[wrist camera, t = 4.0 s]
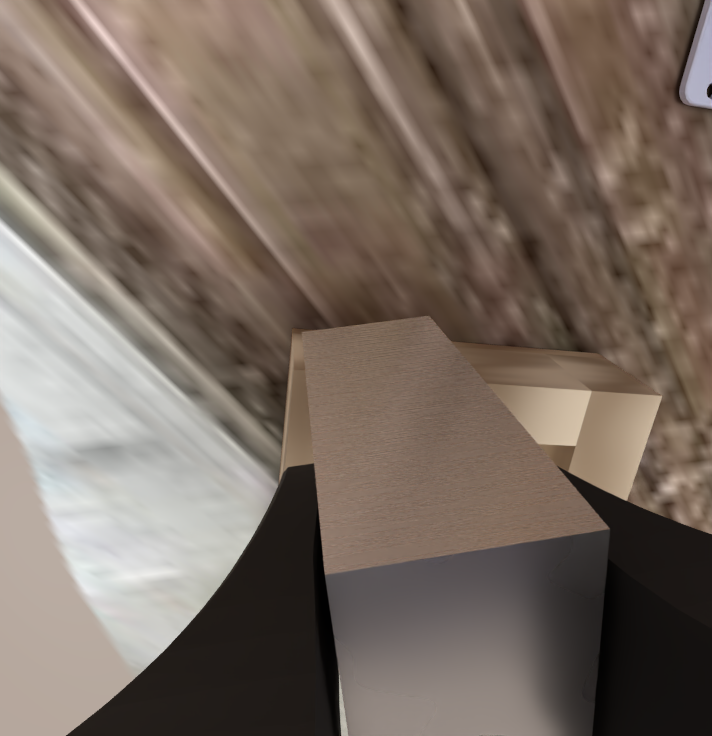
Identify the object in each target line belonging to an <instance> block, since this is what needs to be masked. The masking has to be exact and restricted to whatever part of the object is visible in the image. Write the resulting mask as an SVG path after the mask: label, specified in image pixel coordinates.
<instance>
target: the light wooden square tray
mask: <svg viewBox="0 0 712 736" xmlns="http://www.w3.org/2000/svg"><path fill="white" fill-rule="evenodd" d="M306 331H314V330H308V329H296V328H292V336H291V348H290V359H289V371H288V382H287V394H286V405H285V416H284V428H283V439H282V451H281V462H280V474H279V483H280V480H281V477H282V474H283V472H284V471H285V470H286V469H287V468H288V467H292V466H299V465H305V464H312V463H314V456H313V446H312V435H311V425H310V414H309V404H308V393H307V383H306V372H305V362H304V351H303V341H302V332H306ZM451 342H452V343H453V344H454V346H455V347H456V348H457V349H458V350H459V351H460V353H461V354H462V355H463V356H464V357H465V359H466V360H467V361H468V362H469V363H470V364H471V366H472V367H473V368H474V369H475V370H476V371H477V373H478V374H479V375H480V376H481V377H482V379H483V380H484V381H485V382H486V383H487V384H488V386H489V387H490V388H491V389H492V390H493V392H494V393H495V394H496V395H497V396H498V397H499V399H500V400H501V401H502V402H503V403H504V404H505V406H506V407H507V408H508V409H509V410H510V412H511V413H512V414H513V415H514V416H515V417H516V419H517V420H518V421H519V422H520V423H521V425H522V426H523V427H524V428H525V429H526V430H527V432H528V433H529V434H530V435H531V436H532V437H533V439H534V440H535V441H536V442H537V443H538V445H539V446H540V447H541V448H542V449H543V450H544V452H545V453H546V454H547V455H548V456H549V458H550V459H551V460H552V461H553V462H554V463H555V465H557V466H558V467H560V468H562V469H564V470H566V471H568V472H569V473H571V474H573V475H575V476H577V477H579V478H581V479H583V480H584V481H586V482H588V483H590V484H592V485H594V486H596V487H598V488H600V489H602V490H604V491H606V492H608V493H611V494H613V495H615V496H617V497H619V498H621V499H623V500H625V501H627V499H628V496H629V493H630V490H631V487H632V484H633V481H634V478H635V475H636V472H637V469H638V466H639V463H640V460H641V457H642V454H643V452H644V449H645V446H646V443H647V440H648V437H649V434H650V431H651V428H652V425H653V422H654V419H655V416H656V413H657V410H658V407H659V405H660V402H661V399H662V396H661V395H660V394H658V393H657V392H655V391H654V390H652V389H651V388H649V387H648V386H646V385H645V384H643V383H642V382H640V381H639V380H637V379H636V378H634V377H633V376H631V375H630V374H628V373H627V372H625V371H624V370H622V369H621V368H619V367H618V366H616V365H615V364H613V363H612V362H610V361H609V360H607V359H606V358H604V357H603V356H601V355H600V354H598V353H586V352H574V351H562V350H550V349H538V348H526V347H514V346H501V345H489V344H477V343H465V342H453V341H451Z"/></svg>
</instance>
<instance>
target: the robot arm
mask: <svg viewBox="0 0 712 736" xmlns="http://www.w3.org/2000/svg"><path fill="white" fill-rule="evenodd" d="M709 84H712V0H705V2H704V6H703V9H702V13H701V16H700V20H699V23H698V26H697V30H696V33H695V37H694V40H693V44H692V47H691V50H690V54H689V57H688V61H687V64H686V68H685V71H684V74H683V78H682V81H681V85H680V90H679V95H680V99H681V100H682V102H683V103H684V104H686V105H689V106H695V107H702V108H708V109H712V95H711V97H710V98H708V96H707V94H706V93H707V88H708V86H709ZM556 466H557V465H556ZM557 467H558V466H557ZM558 468H559V469H560V470H561V472H562V473H563V474H564V475H565V476H566V478H567V479H568V480H569V481H570V482H571V483H572V485H573V486H574V487H575V488H576V489H577V491H578V492H579V493H580V494H581V495H582V496H583V498H584V499H585V500H586V501H587V502H588V503H589V505H590V506H591V507H592V508H593V509H594V511H595V512H596V513H597V514H598V515H599V516H600V518H601V519H602V520H603V521H604V522H605V523H606V525H607V526H608V527H609V528H610V537H609V548H608V560H607V571H606V583H605V594H604V606H603V617H602V629H601V640H600V652H599V663H598V674H597V686H596V697H595V709H594V720H593V732H592V736H712V534H709V533H706V532H703V531H700V530H697V529H694V528H691V527H689V526H686V525H684V524H681V523H678V522H676V521H673V520H671V519H668V518H666V517H663V516H660V515H658V514H655V513H653V512H650V511H648V510H646V509H643V508H641V507H639V506H636V505H634V504H632V503H630V502H628V501H625V500H623V499H621V498H619V497H617V496H615V495H613V494H611V493H608V492H606V491H604V490H602V489H600V488H598V487H596V486H594V485H592V484H590V483H588V482H586V481H584V480H583V479H581V478H579V477H577V476H575V475H573V474H571V473H569V472H568V471H566V470H564V469H562V468H560V467H558ZM66 736H341V727H340V709H339V667H338V661H337V654H336V647H335V640H334V634H333V627H332V620H331V613H330V607H329V600H328V593H327V586H326V580H325V572H324V561H323V551H322V540H321V530H320V519H319V509H318V498H317V488H316V477H315V467H314V463H312V464H305V465H299V466H292V467H288V468H287V469H286V470H285V471H284V472H283V474H282V477H281V480H280V483H279V485H278V488H277V490H276V492H275V495H274V497H273V499H272V501H271V503H270V505H269V507H268V509H267V511H266V513H265V515H264V517H263V519H262V521H261V523H260V524H259V526H258V528H257V530H256V532H255V534H254V535H253V537H252V539H251V540H250V542H249V544H248V545H247V547H246V548H245V550H244V551H243V553H242V555H241V556H240V558H239V559H238V561H237V563H236V564H235V566H234V567H233V569H232V570H231V571H230V573H229V574H228V576H227V577H226V579H225V580H224V581H223V583H222V584H221V585H220V587H219V588H218V589H217V591H216V592H215V593H214V595H213V596H212V597H211V598H210V600H209V601H208V602H207V604H206V605H205V606H204V607H203V608H202V610H201V611H200V612H199V613H198V614H197V615H196V617H195V618H194V619H193V620H192V621H191V622H190V623H189V625H188V626H187V627H186V628H185V629H184V630H183V631H182V632H181V633H180V635H179V636H178V637H177V638H176V639H175V640H174V641H173V642H172V643H171V644H170V645H169V646H168V648H167V649H166V650H165V651H164V652H163V653H161V654H160V655H159V656H158V657H157V658H156V659H155V660H154V661H153V662H152V663H151V664H150V665H149V666H148V667H147V668H146V669H145V670H144V671H143V672H142V673H141V674H139V675H138V676H137V677H136V678H135V679H134V680H133V681H132V682H130V683H129V684H128V685H127V686H126V687H125V688H124V689H123V690H122V691H120V692H119V693H118V694H117V695H116V696H115V697H114V698H112V699H111V700H110V701H109V702H108V703H107V704H105V705H104V706H103V707H102V708H101V709H99V710H98V711H97V712H96V713H94V714H93V715H92V716H91V717H89V718H88V719H87V720H85V721H84V722H83V723H82V724H80V725H79V726H78V727H76V728H75V729H74V730H73V731H71V732H70V733H69V734H68V735H66Z"/></svg>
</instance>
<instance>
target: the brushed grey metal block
mask: <svg viewBox="0 0 712 736" xmlns="http://www.w3.org/2000/svg"><path fill="white" fill-rule="evenodd" d="M302 341H303V351H304V362H305V372H306V383H307V393H308V404H309V414H310V425H311V435H312V446H313V456H314V467H315V477H316V488H317V498H318V509H319V519H320V530H321V540H322V551H323V561H324V572H325V580H326V586H327V593H328V600H329V607H330V613H331V620H332V627H333V634H334V640H335V647H336V654H337V661H338V667H339V674H340V681H341V687H342V694H343V701H344V708H345V714H346V721H347V728H348V735H349V736H592V732H593V720H594V709H595V697H596V686H597V674H598V663H599V652H600V640H601V629H602V617H603V606H604V594H605V583H606V571H607V560H608V548H609V537H610V528H609V527H608V526H607V525H606V523H605V522H604V521H603V520H602V519H601V518H600V516H599V515H598V514H597V513H596V512H595V511H594V509H593V508H592V507H591V506H590V505H589V503H588V502H587V501H586V500H585V499H584V498H583V496H582V495H581V494H580V493H579V492H578V491H577V489H576V488H575V487H574V486H573V485H572V483H571V482H570V481H569V480H568V479H567V478H566V476H565V475H564V474H563V473H562V472H561V470H560V469H559V468H558V467H557V466H556V465H555V463H554V462H553V461H552V460H551V459H550V458H549V456H548V455H547V454H546V453H545V452H544V450H543V449H542V448H541V447H540V446H539V445H538V443H537V442H536V441H535V440H534V439H533V437H532V436H531V435H530V434H529V433H528V432H527V430H526V429H525V428H524V427H523V426H522V425H521V423H520V422H519V421H518V420H517V419H516V417H515V416H514V415H513V414H512V413H511V412H510V410H509V409H508V408H507V407H506V406H505V404H504V403H503V402H502V401H501V400H500V399H499V397H498V396H497V395H496V394H495V393H494V392H493V390H492V389H491V388H490V387H489V386H488V384H487V383H486V382H485V381H484V380H483V379H482V377H481V376H480V375H479V374H478V373H477V371H476V370H475V369H474V368H473V367H472V366H471V364H470V363H469V362H468V361H467V360H466V359H465V357H464V356H463V355H462V354H461V353H460V351H459V350H458V349H457V348H456V347H455V346H454V344H453V343H452V342H451V341H450V340H449V338H448V337H447V336H446V335H445V334H444V333H443V331H442V330H441V329H440V328H439V327H438V326H437V324H436V323H435V322H434V321H433V320H432V318H431V317H430V316H423V317H415V318H407V319H400V320H392V321H384V322H376V323H369V324H361V325H353V326H345V327H337V328H330V329H322V330H314V331H306V332H302Z"/></svg>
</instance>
